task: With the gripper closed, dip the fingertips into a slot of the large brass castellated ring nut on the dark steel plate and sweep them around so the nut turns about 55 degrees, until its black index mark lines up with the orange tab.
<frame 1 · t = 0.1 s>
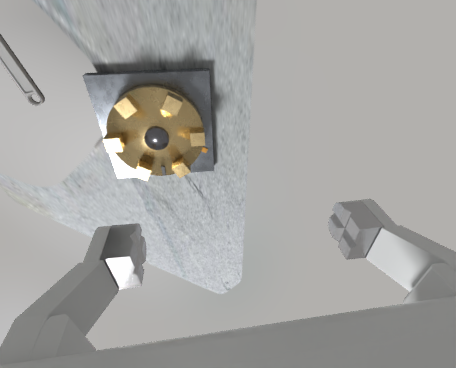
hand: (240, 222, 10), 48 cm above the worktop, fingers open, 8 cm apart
ring nut: (157, 136, 53), point 5 cm above the worktop, hinge at 0.0°
base plate: (159, 126, 57), on the worktop
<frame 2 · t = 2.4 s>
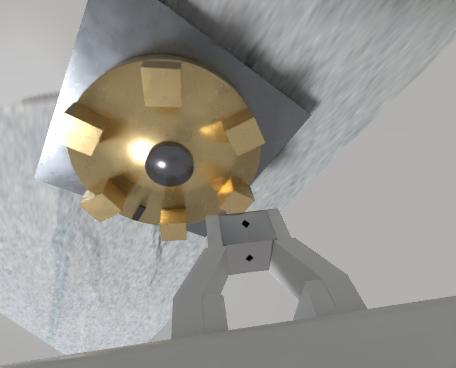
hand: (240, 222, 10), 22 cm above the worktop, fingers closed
ring nut: (170, 160, 27), point 5 cm above the worktop, hinge at 0.0°
base plate: (172, 139, 31), on the worktop
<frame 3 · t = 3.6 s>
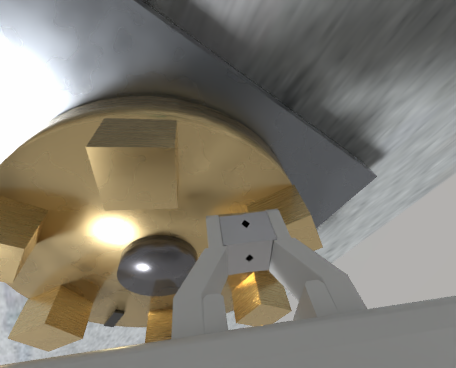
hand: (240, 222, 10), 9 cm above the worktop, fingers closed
ring nut: (160, 256, 17), point 5 cm above the worktop, hinge at 0.0°
base plate: (165, 206, 21), on the worktop
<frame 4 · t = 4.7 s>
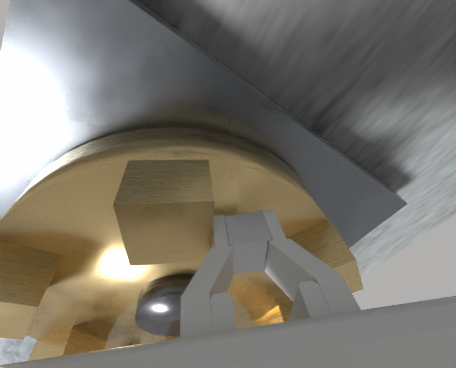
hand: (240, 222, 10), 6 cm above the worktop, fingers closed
ring nut: (180, 293, 16), point 5 cm above the worktop, hinge at 1.2°, touching gripper
base plate: (181, 233, 20), on the worktop
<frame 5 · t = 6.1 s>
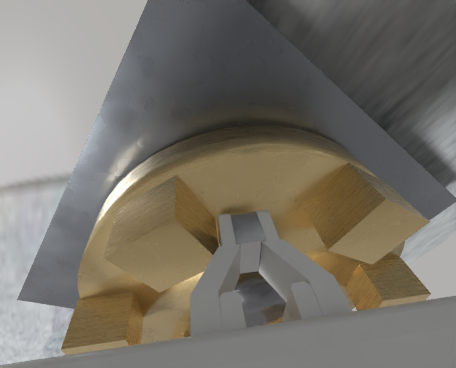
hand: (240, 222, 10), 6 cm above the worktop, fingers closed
ring nut: (250, 286, 16), point 5 cm above the worktop, hinge at 35.1°, touching gripper
base plate: (236, 229, 20), on the worktop
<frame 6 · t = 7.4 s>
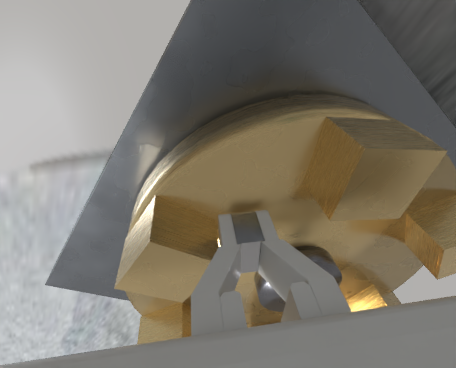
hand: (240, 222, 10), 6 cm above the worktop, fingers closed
ring nut: (291, 268, 16), point 5 cm above the worktop, hinge at 59.7°, touching gripper
base plate: (269, 213, 20), on the worktop
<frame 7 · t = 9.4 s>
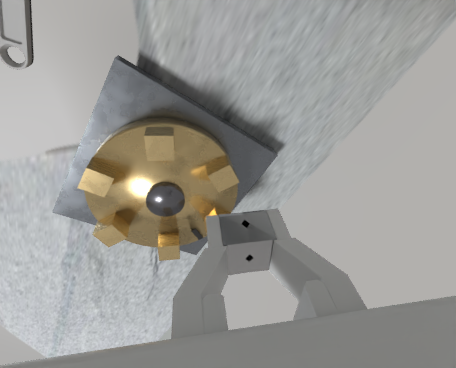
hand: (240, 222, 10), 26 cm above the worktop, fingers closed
ring nut: (165, 195, 34), point 5 cm above the worktop, hinge at 60.1°
base plate: (166, 176, 38), on the worktop
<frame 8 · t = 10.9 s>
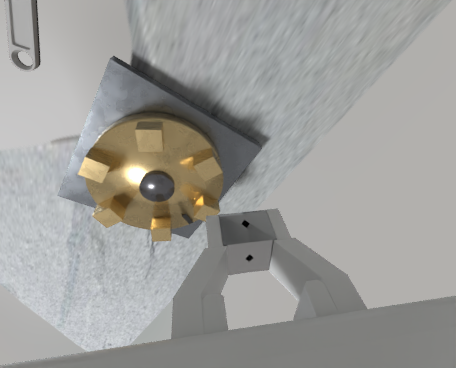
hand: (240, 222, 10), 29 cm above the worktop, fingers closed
ring nut: (157, 183, 38), point 5 cm above the worktop, hinge at 60.1°
base plate: (160, 165, 42), on the worktop
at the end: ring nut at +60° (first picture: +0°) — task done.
